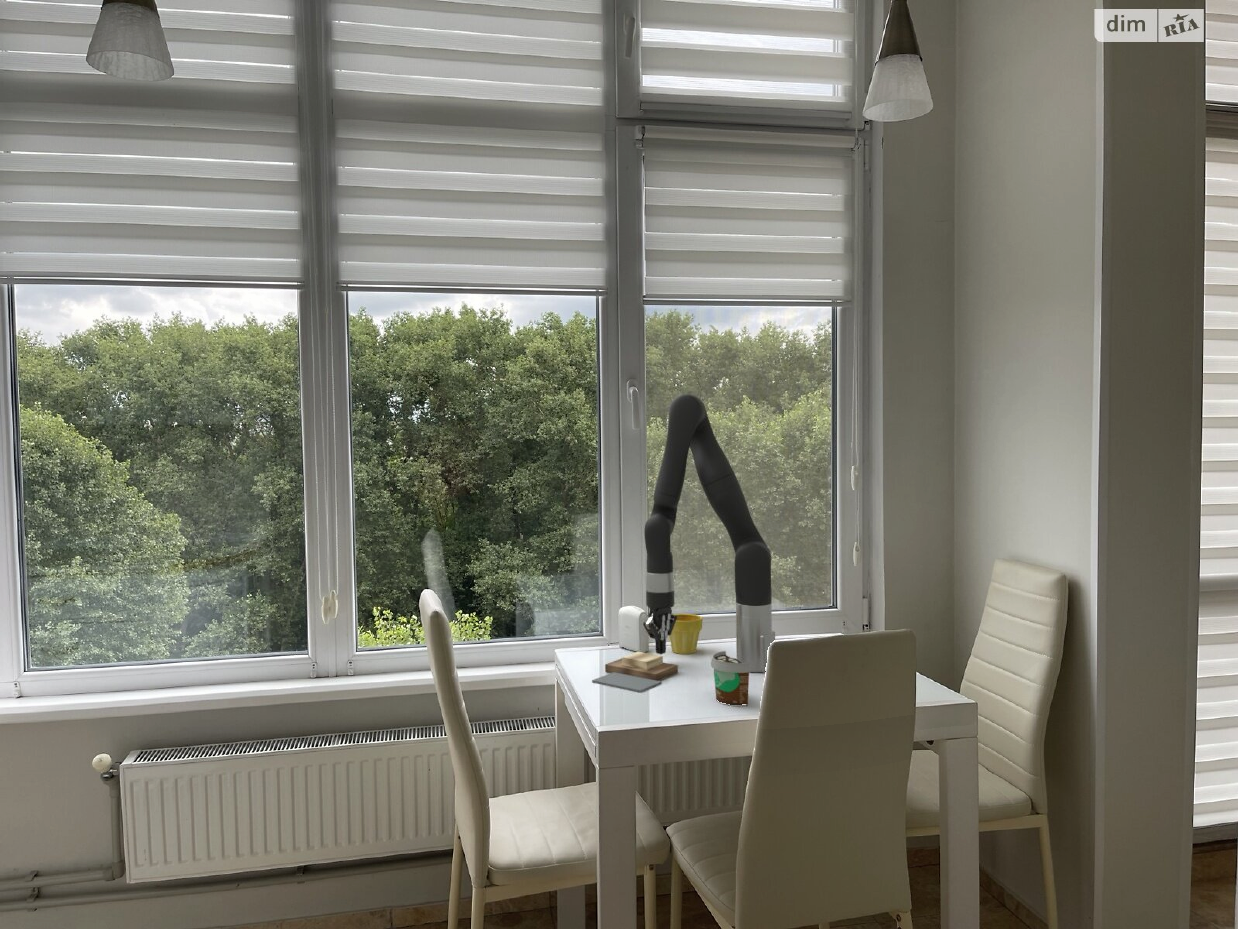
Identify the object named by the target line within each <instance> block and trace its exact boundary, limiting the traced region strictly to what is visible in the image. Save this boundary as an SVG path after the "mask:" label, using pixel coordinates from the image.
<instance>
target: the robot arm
mask: <svg viewBox="0 0 1238 929" xmlns="http://www.w3.org/2000/svg"><path fill="white" fill-rule="evenodd" d="M707 413H708V412H707V409H706V407H705V404H704V402H703V401H702V400H701V399H700V398H699V397H698V396H696V395H693V394H689V393H688V394H687V393H683V394H680V395H677V396H676V397H675V398H673V400H672V401H671V402H670V403H669V408H668V420H667V421H668V422H667V423H668V424H667V434H666V440H665V448H664V452H663V456H662V461H661V462H660V463H661V464H660V469H659V472H658V476H657V478H656V483H655V488H654V491H653V506H652V510H651V513H650V517H649V518H648V519H647V520H646V522H645V523H644V544H645V551H646V576H645V577H646V578H645V605H646V607H647V608H649V612H648V621H647V622H644V623H643V625H644V627H645V629H646V631H647V633H648V634H649V638H650V639H653V640H654V641H655V652H656V654H657V655H663V654H665V653H667V652H666V649H667V639H668V637H669V636H670V635H671V633H672V630H673V628H674V625H675V622H676V620H677V615H673V614H674V613H673V611H672V608H673V607H674V606H675V578H674V556H673V553H672V551H671V536H672V534H673V532H674V530H675V525H676V521H677V514H678V506H679V502H680V500H681V497H682V496H681V495H682V491H683V487H684V482H685V478H686V471H687V470H686V469H687V464H688V463H687V462H688V461H687V460H688V455H689V451H691V454H692V455H691V456H692V457H693V458H692V459H693V462H694V466H695V470H696V474H697V477H698V480H699V482H700V485H701V487H702V490H703V493H704V494H705V496H706V498H707V500H708V503H709V504H710V506H711V508H712V509H713V511H714V513H715V514H716V515H717V517H718V519H719V520H720V522H721V523H722V524H723V526H724V527H725V529H726V531H727V533H728V536H729V539H730V541H731V543H732V547H733V550H734V554H735V555H734V592H735V628H736V629H735V633H736V635H735V636H736V640H735V641H736V642H735V643H736V645H735V646H736V650H735V651H736V659H737V660H739V661H740V662H741V663H749V666H750V671H751V672H750V673H764V674H765V673H766V672H765V667H766V663H767V650H768V647H769V646H770V643H772V642H773V641H774V640H775V641H776V632H775V630H773V616H772V615H773V613H772V611H773V610H772V609H773V608H772V607H773V606H772V598H773V597H772V594H773V593H772V553H771V550H770V549H769V546H768V545H767V543H766V542H765V540H764V539H763V537H762V535H761V533H760V531H759V530H758V528H757V527H756V525H755V522H754V521H753V518H752V516H751V513H750V509H749V507H748V503H747V501H746V498H745V495H744V493H743V490H742V488H741V485H740V482H739V480H738V478H737V476H736V473H735V471H734V469H733V468H732V466H731V464H730V462H729V460H728V458H727V456H726V455H725V453H724V451H723V449H722V447H721V446H720V443H718V441H717V439H716V436H715V434H714V431H713V428H712V425H711V423H710V422H711V421H710V418H709V416H708V414H707Z"/></svg>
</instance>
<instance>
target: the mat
mask: <svg viewBox="0 0 1238 929" xmlns="http://www.w3.org/2000/svg"><path fill="white" fill-rule="evenodd" d="M591 682H592V683H593V684H599V685H603V686H609V687H612V688H617V689H622V688H623V690H625V691H626V690H627V691H632V692H636V691H637V692H636V693H640V694H641V693H643V692H645V691H647V690H650V689H652V688H655V687H657V686H659V685H662V684H663V682H662V681H661V680H659V681H656V680H651V679H646V678H641V677H636V676H631V675H626V674H621V673H616V672H613V673H607V674H605V675H603V676H600V677H597V678H594V679H592V680H591ZM642 691H643V692H642Z"/></svg>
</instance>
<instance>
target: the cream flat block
mask: <svg viewBox="0 0 1238 929" xmlns="http://www.w3.org/2000/svg"><path fill="white" fill-rule="evenodd" d="M663 658H664V656H663V655H661V654H653V653H647V652H637V651H635V652H634V653H630V654H628V655H625V656H622V657H621V659H622V665H625V666H630V667H635V668H640V669H645V670H648V669H650V668H653V667H656V666H658V665H661V664H663V662H664V659H663Z"/></svg>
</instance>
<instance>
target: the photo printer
mask: <svg viewBox="0 0 1238 929" xmlns="http://www.w3.org/2000/svg"><path fill="white" fill-rule="evenodd" d="M617 619H618V620H617V621H618V622H617V623H618V624H617V625H618V647H620V648H622V647H624V648H623V649H625V648H626V649H627V650H629V651H634V652H643V653H647V652H648V651H649V649H650V640H649V638H650V636H649V634H648V633H647V631H646V629H645V627H644V625H643V623H644V622H647V621H648V619H649V614H648V612H647V611H645V610H643V609H642V608H641V607H638V606H635V605H626V606H623V607H620V608H619V610H618V616H617Z"/></svg>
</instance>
